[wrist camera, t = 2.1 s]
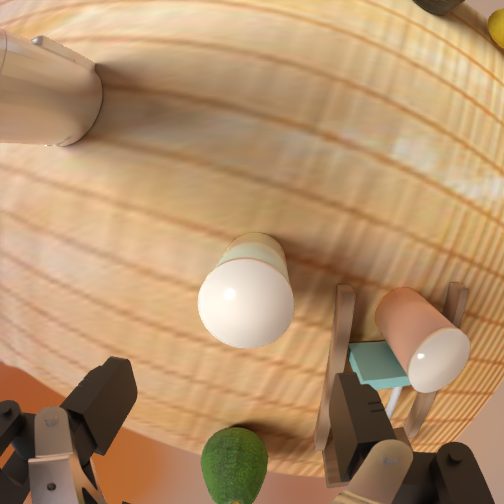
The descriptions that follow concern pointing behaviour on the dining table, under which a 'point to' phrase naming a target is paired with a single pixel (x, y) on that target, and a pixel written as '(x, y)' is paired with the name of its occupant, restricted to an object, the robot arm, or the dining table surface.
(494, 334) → the dining table surface
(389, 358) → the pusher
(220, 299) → the sage jar
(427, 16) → the dining table surface
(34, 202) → the dining table surface
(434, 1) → the supplement bottle
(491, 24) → the lemon
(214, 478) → the fruit
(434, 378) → the jar
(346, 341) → the lane
